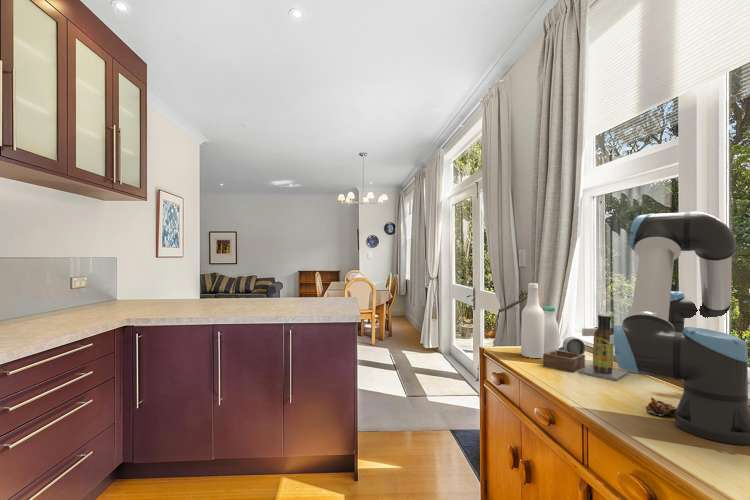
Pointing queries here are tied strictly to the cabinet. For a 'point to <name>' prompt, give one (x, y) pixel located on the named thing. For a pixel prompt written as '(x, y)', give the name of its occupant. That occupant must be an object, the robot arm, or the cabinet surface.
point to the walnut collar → (564, 360)
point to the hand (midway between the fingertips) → (595, 335)
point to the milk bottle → (550, 330)
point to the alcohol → (532, 325)
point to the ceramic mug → (573, 345)
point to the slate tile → (611, 376)
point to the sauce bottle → (603, 346)
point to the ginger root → (660, 408)
